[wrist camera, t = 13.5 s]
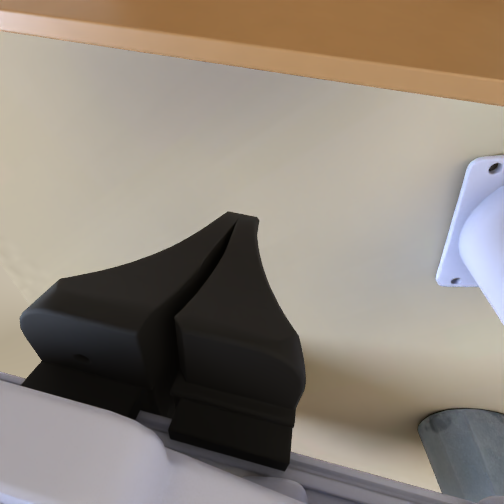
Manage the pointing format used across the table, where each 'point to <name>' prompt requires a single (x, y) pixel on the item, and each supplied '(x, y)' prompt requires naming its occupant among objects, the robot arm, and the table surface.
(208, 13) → the flap
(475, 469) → the moka pot
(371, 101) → the table surface
